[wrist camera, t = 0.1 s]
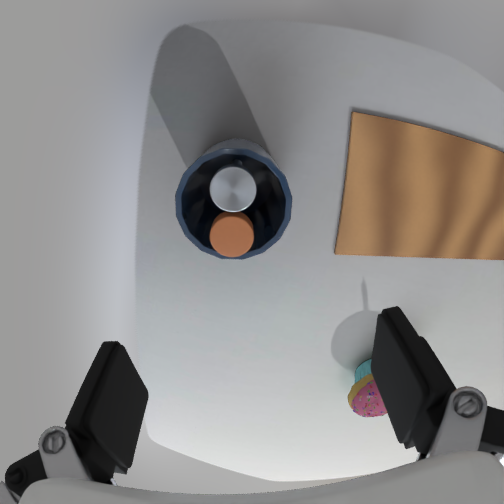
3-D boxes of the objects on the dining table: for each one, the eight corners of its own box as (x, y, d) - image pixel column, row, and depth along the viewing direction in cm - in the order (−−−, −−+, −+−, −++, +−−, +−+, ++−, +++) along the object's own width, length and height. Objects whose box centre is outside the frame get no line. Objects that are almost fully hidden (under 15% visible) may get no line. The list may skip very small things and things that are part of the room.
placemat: (334, 253, 30) (335, 254, 30) (351, 111, 24) (353, 111, 24) (543, 260, 32) (544, 261, 31) (563, 180, 26) (564, 180, 26)
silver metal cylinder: (221, 177, 26) (209, 211, 17) (222, 148, 25) (209, 166, 16) (251, 178, 26) (255, 213, 17) (252, 149, 25) (257, 167, 16)
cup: (180, 177, 27) (152, 205, 18) (238, 122, 25) (236, 123, 16) (234, 231, 29) (231, 279, 21) (293, 181, 27) (314, 210, 19)
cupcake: (395, 338, 36) (432, 407, 25) (399, 375, 39) (427, 436, 28) (335, 363, 37) (358, 438, 26) (347, 396, 40) (366, 462, 29)
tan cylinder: (221, 208, 27) (209, 257, 18) (221, 180, 26) (209, 215, 17) (249, 209, 27) (252, 258, 18) (251, 181, 26) (255, 217, 17)
